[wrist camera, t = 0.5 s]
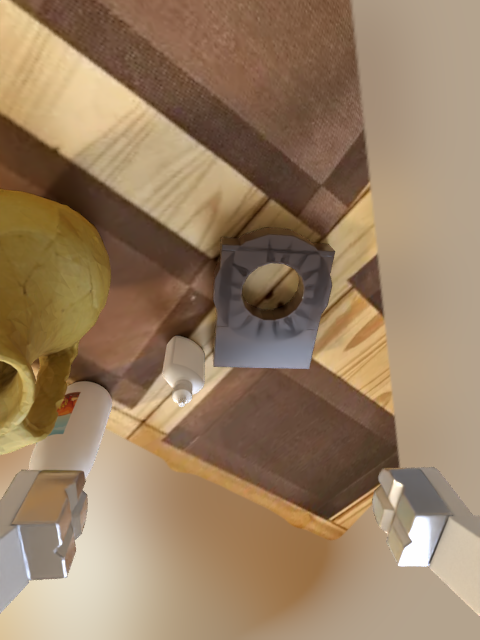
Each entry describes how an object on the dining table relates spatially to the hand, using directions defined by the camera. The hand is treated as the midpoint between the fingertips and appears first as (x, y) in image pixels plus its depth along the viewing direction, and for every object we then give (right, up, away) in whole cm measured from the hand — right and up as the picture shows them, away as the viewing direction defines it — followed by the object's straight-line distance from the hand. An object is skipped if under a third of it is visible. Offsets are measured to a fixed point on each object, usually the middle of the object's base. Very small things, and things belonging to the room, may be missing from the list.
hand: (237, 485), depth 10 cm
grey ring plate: (+4, +7, +42) cm, 43 cm away
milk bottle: (-24, -8, +48) cm, 54 cm away
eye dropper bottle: (-8, 0, +45) cm, 45 cm away
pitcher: (-24, +12, +36) cm, 45 cm away
